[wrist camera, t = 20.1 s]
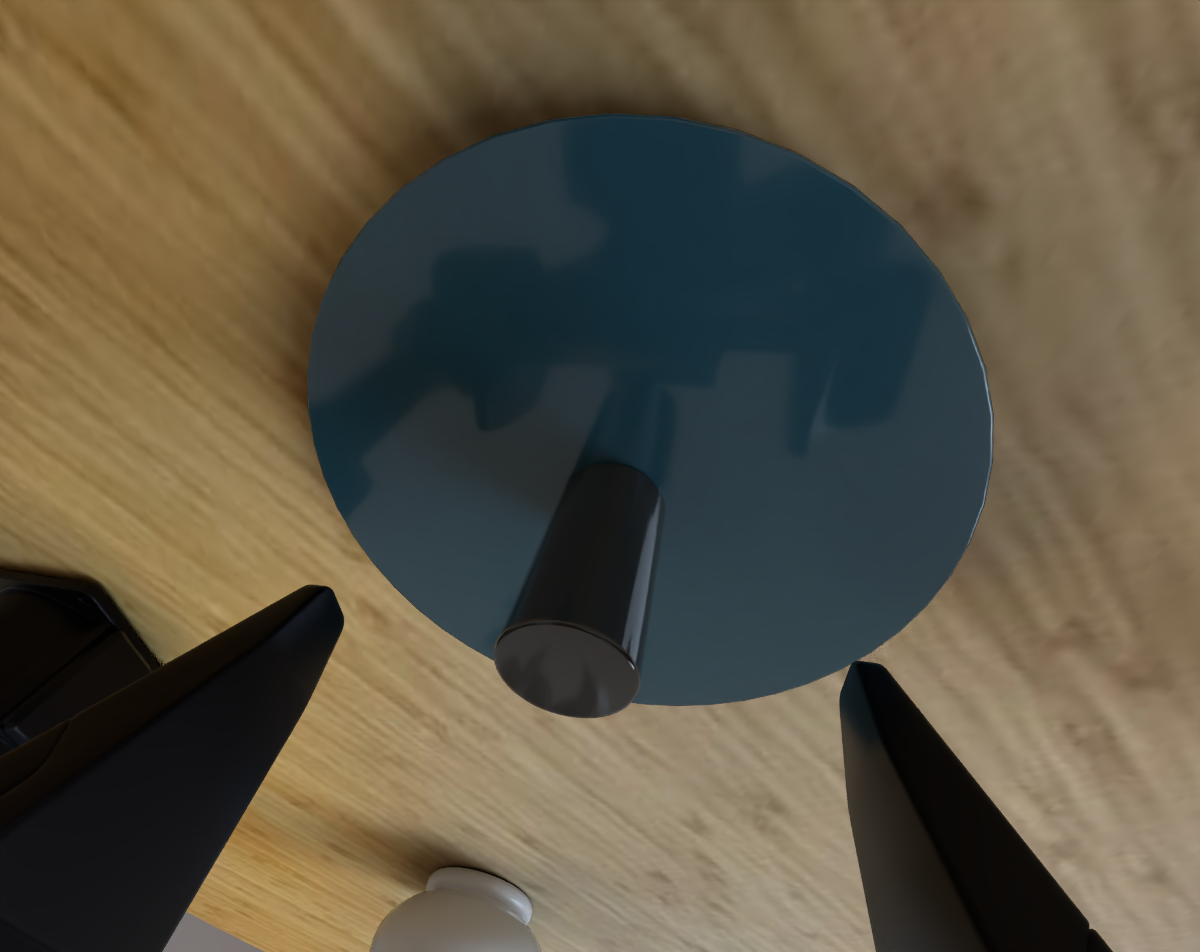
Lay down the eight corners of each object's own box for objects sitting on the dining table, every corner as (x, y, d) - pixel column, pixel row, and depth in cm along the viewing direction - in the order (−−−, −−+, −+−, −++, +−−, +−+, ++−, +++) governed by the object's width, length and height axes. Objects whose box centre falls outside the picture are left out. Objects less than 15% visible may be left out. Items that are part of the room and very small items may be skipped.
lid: (408, 638, 18) (303, 810, 14) (238, 123, 10) (-155, 127, 6) (866, 709, 16) (924, 947, 11) (1131, 99, 8) (1720, 73, 3)
